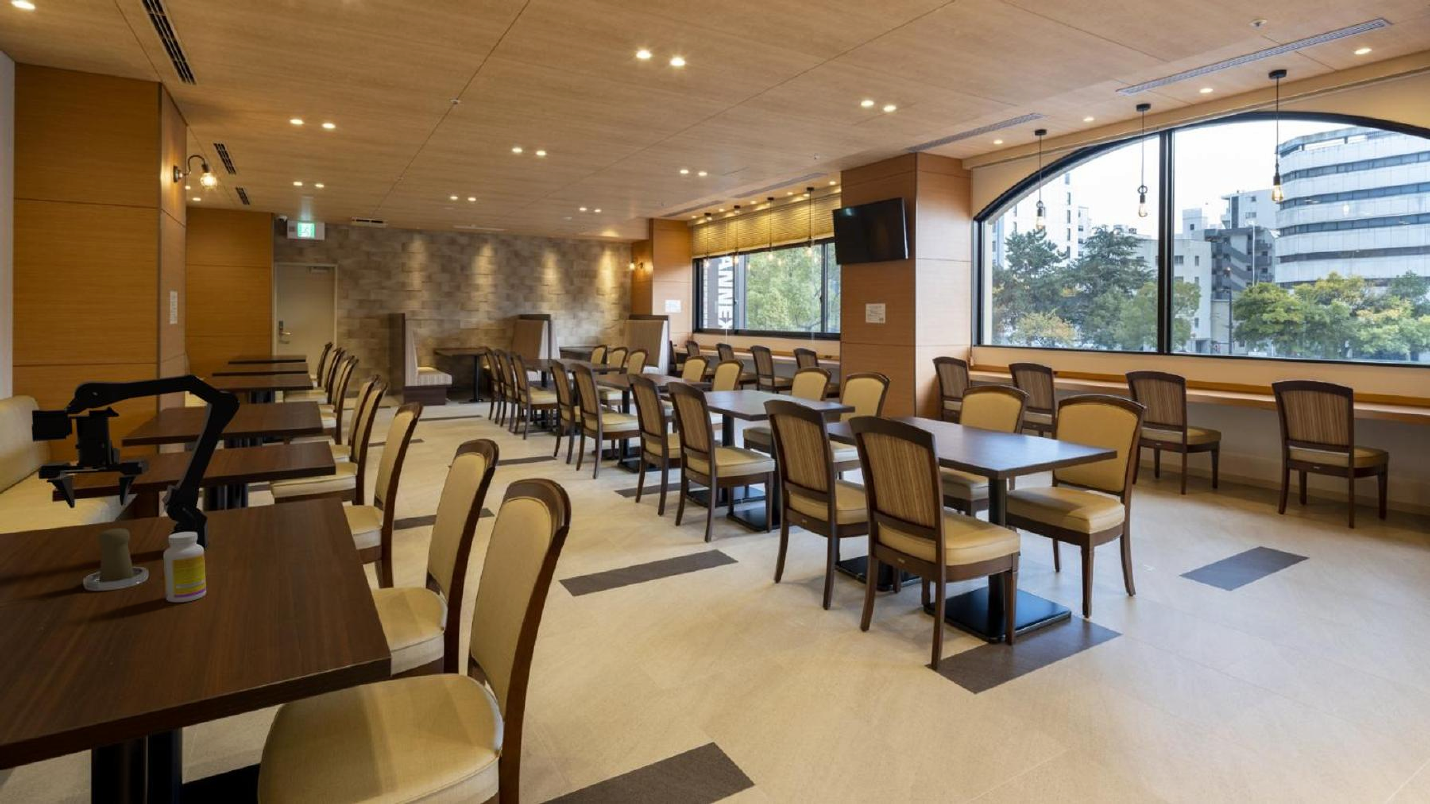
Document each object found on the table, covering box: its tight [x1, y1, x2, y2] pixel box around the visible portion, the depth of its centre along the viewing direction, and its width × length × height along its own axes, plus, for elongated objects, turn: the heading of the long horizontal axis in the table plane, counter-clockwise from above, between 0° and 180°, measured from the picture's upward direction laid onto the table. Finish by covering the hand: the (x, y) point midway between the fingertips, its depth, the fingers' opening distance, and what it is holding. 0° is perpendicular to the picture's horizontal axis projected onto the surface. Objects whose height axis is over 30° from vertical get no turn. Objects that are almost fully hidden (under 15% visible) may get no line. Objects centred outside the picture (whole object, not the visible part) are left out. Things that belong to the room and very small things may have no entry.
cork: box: [98, 527, 135, 582], centre depth 160 cm, size 6×6×11 cm
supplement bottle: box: [162, 532, 207, 603], centre depth 151 cm, size 7×7×13 cm
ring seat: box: [82, 566, 149, 592], centre depth 160 cm, size 10×10×2 cm
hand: (97, 506), depth 172 cm, fingers open, 9 cm apart
